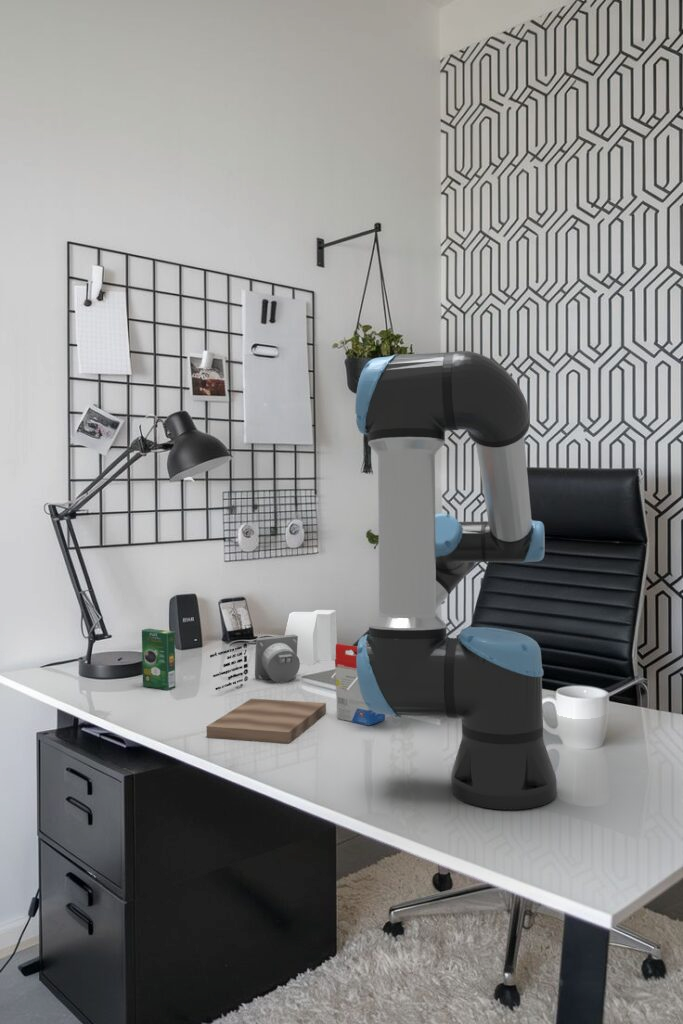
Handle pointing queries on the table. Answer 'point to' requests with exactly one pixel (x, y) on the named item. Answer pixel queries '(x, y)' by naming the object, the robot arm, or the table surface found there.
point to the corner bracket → (314, 635)
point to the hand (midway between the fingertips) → (344, 688)
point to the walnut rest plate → (267, 720)
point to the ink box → (347, 702)
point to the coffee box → (158, 658)
